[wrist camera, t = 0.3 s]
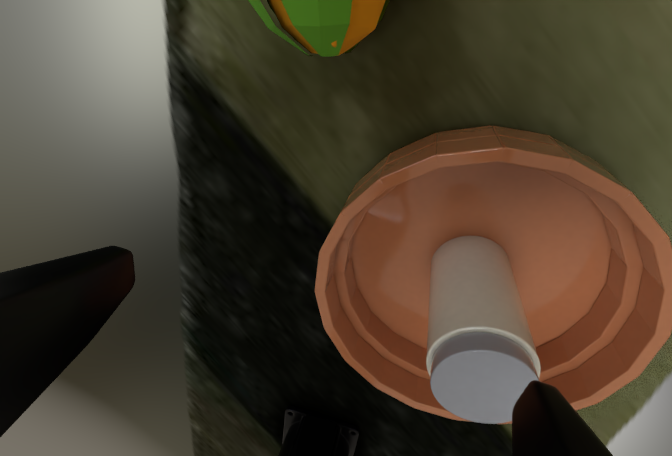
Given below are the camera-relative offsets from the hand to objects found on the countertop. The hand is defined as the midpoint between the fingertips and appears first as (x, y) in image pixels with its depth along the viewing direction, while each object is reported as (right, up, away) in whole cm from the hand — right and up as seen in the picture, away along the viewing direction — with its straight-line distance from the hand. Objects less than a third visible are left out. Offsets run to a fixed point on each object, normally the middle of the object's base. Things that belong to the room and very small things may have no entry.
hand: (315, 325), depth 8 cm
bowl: (+8, 0, +14) cm, 16 cm away
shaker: (+8, 0, +14) cm, 16 cm away
